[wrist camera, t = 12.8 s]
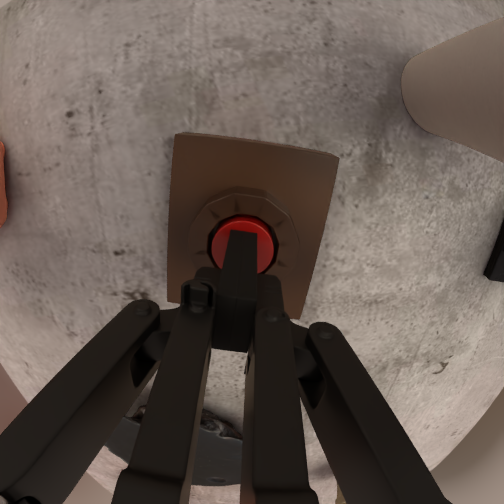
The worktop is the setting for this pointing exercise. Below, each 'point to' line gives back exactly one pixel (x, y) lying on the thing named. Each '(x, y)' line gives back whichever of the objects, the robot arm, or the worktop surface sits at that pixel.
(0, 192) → the teapot
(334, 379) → the robot arm
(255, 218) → the button
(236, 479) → the board
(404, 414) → the worktop surface
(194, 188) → the button block
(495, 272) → the lever bracket
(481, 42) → the coffee cup
